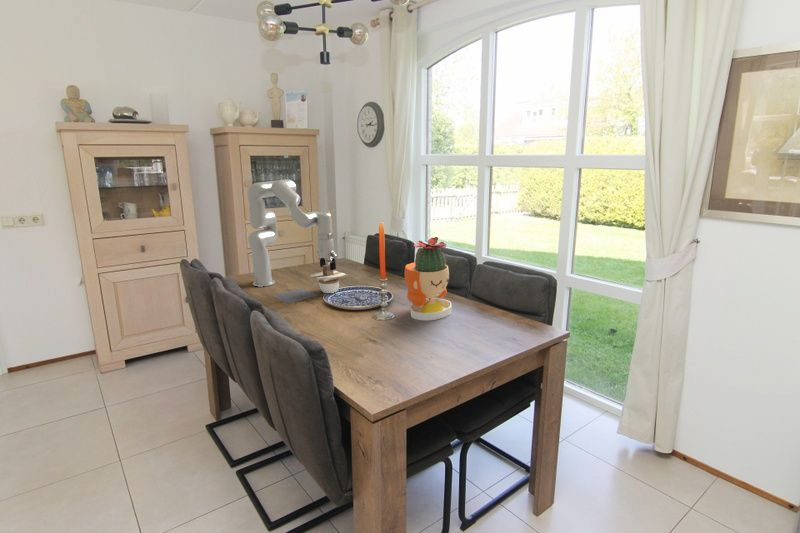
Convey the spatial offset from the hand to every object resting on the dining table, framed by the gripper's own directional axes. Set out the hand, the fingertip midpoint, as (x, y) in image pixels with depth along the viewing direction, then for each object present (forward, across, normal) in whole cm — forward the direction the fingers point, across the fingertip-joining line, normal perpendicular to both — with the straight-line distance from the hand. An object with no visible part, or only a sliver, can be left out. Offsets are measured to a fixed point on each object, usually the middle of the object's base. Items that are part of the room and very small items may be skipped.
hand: (328, 268), depth 243 cm
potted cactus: (+14, +59, +15) cm, 62 cm away
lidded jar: (+14, 0, 0) cm, 14 cm away
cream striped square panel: (+14, -9, -16) cm, 23 cm away
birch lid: (+4, 0, 0) cm, 4 cm away
